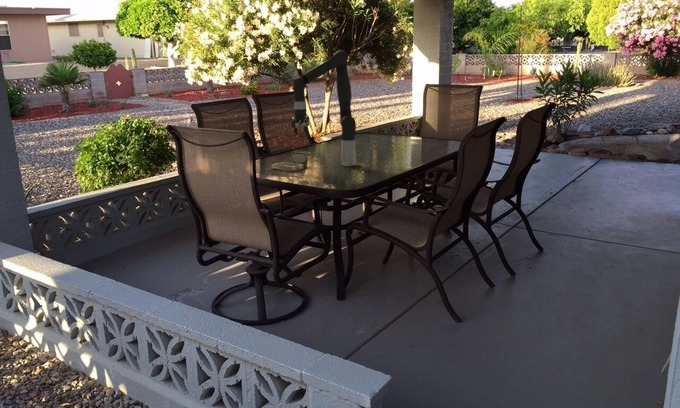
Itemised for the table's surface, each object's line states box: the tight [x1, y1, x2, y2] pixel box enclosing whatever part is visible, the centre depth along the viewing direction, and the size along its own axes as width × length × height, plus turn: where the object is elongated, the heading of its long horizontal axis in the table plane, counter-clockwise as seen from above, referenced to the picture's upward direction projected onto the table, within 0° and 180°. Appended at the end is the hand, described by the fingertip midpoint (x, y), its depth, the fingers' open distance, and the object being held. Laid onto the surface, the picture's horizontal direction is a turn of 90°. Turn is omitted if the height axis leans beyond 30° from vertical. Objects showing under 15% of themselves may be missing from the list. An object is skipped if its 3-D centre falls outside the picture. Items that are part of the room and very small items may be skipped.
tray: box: [271, 161, 305, 172], centre depth 388 cm, size 12×18×3 cm, turn 51°
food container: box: [290, 150, 309, 168], centre depth 397 cm, size 12×6×10 cm, turn 59°
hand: (300, 133), depth 390 cm, fingers open, 8 cm apart
